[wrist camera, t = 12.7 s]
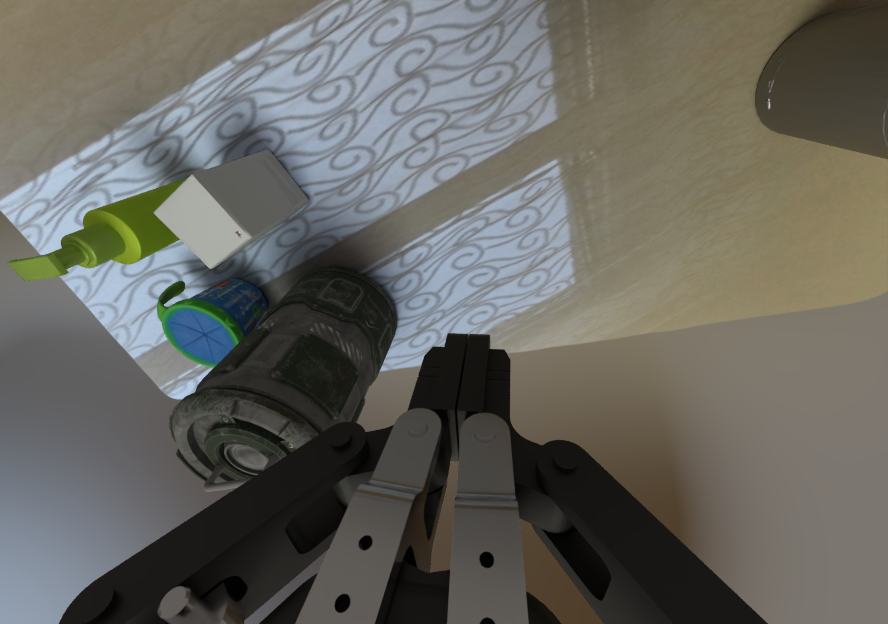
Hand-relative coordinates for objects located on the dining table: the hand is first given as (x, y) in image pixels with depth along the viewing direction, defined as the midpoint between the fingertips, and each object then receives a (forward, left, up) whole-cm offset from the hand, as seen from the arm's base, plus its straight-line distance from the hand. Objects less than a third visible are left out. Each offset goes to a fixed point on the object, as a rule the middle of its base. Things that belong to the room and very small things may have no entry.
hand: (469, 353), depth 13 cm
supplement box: (+28, +2, -33) cm, 43 cm away
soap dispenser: (+39, +3, -33) cm, 51 cm away
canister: (+22, +20, -33) cm, 44 cm away
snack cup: (+38, +18, -33) cm, 53 cm away
